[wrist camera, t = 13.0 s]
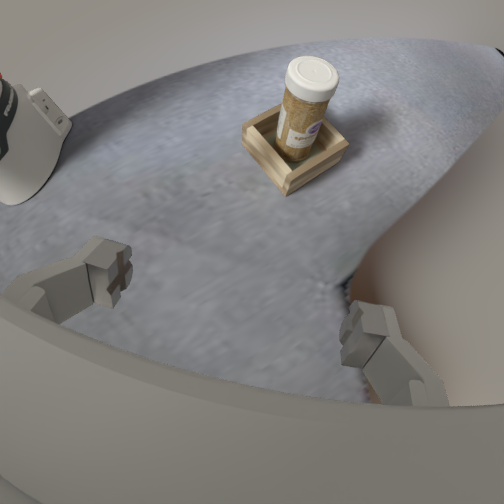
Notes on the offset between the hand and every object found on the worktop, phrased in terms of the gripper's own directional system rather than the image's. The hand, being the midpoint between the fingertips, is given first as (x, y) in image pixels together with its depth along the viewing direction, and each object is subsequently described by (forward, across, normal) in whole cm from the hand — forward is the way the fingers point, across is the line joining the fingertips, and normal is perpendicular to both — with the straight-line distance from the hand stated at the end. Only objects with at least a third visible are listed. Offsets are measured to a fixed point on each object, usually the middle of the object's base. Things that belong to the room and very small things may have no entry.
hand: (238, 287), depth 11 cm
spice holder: (+29, -2, +2) cm, 29 cm away
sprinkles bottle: (+29, -2, +2) cm, 29 cm away
